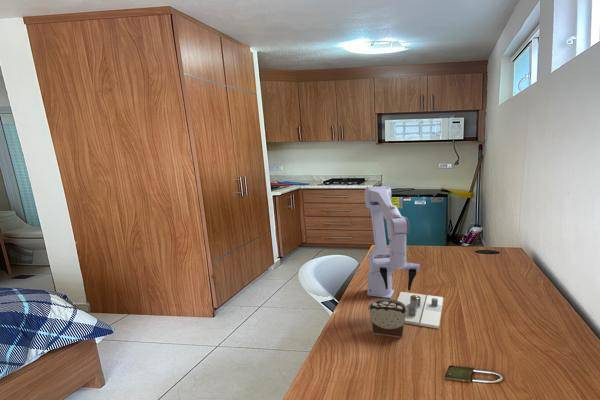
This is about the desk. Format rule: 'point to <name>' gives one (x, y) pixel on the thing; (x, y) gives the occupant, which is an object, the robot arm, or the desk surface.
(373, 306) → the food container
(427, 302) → the door board
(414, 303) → the bar
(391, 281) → the robot arm
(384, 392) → the desk surface
